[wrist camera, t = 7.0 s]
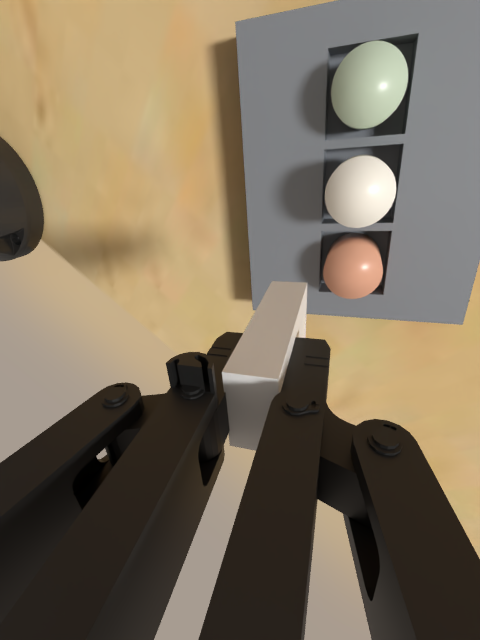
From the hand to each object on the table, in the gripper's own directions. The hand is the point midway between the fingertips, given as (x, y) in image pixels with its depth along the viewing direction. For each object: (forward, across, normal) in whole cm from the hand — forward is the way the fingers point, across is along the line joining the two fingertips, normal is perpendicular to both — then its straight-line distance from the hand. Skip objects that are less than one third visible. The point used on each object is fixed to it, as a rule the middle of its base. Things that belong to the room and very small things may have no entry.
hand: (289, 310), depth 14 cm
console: (+18, +3, +3) cm, 19 cm away
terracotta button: (+17, +3, -3) cm, 17 cm away
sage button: (+17, +3, +9) cm, 19 cm away
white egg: (+15, +3, +3) cm, 16 cm away
